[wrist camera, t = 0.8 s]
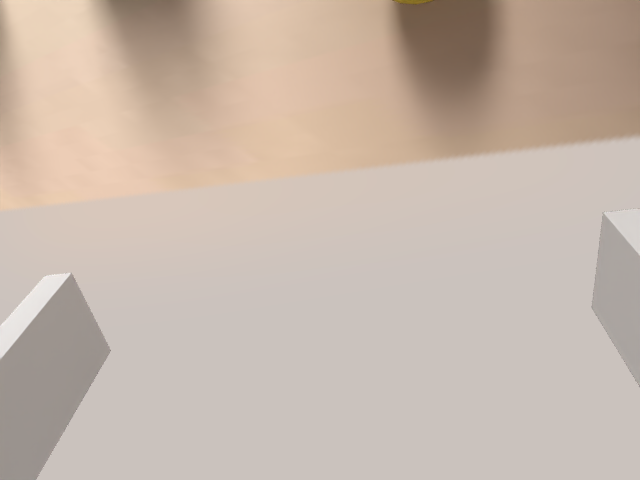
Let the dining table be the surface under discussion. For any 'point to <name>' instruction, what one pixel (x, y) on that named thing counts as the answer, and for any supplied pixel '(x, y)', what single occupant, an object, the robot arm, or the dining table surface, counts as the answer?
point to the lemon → (412, 1)
